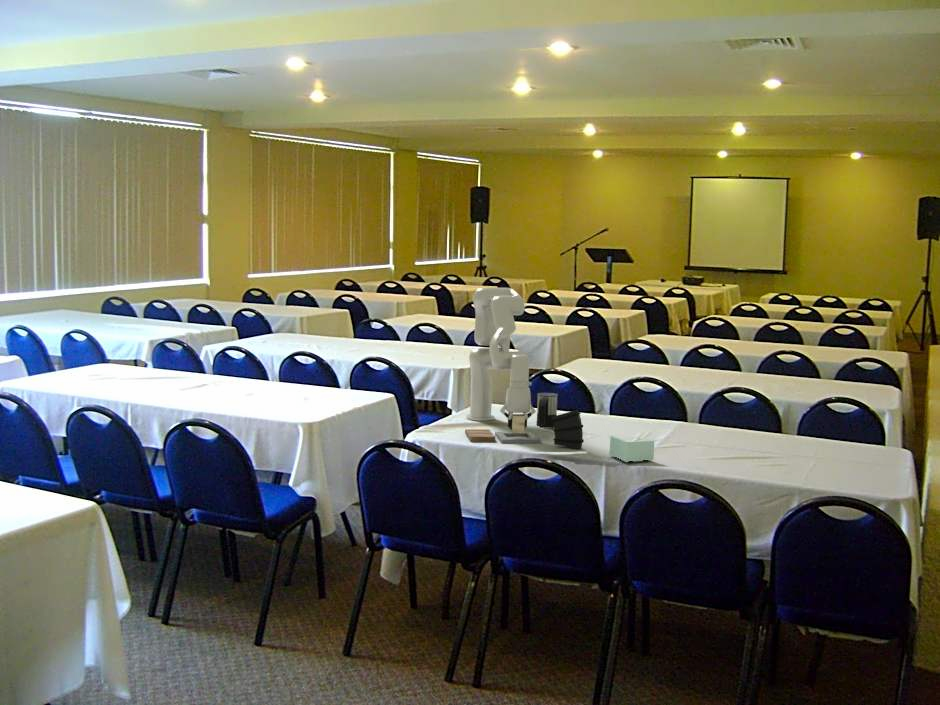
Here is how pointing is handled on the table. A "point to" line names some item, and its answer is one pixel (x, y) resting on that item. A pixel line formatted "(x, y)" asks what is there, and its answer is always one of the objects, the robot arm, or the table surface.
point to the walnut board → (480, 435)
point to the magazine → (568, 430)
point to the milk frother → (546, 409)
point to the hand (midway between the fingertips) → (517, 428)
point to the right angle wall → (631, 449)
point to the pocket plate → (531, 438)
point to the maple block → (518, 423)
